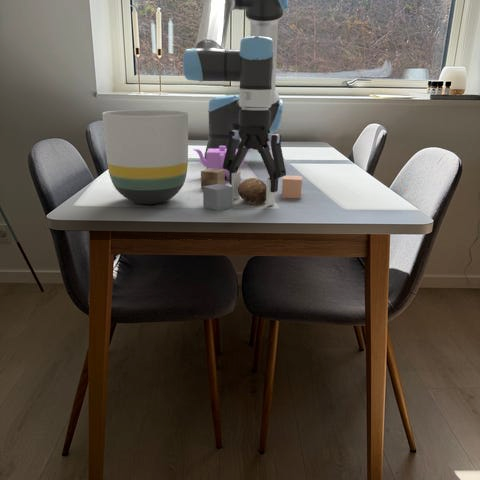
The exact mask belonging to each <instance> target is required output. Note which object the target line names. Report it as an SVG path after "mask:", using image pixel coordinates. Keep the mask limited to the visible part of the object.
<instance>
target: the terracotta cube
mask: <svg viewBox="0 0 480 480" xmlns="http://www.w3.org/2000/svg"><path fill="white" fill-rule="evenodd" d="M302 185H303V176H302V175H287V174H286V175H285V176H283V177H282V182H281V198H282V199H302Z"/></svg>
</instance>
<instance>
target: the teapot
mask: <svg viewBox="0 0 480 480" xmlns="http://www.w3.org/2000/svg"><path fill="white" fill-rule="evenodd" d="M192 150H193V151H195V152H196V153H197V155H198V157H199V159H200V163H201V165H202V166H203V167H204V168H205V169H208V168H212V169H223V163H224V159H225V155H226V150H227V149H226V146H219V149H208V150H207V152H206V151H205V152H206V159H205V158H204V154H203V151H202V150H200V149H197V148H196V149H194V148H193V149H192ZM252 150H253V149H249V150H248V151H247V153H246V155H245V157H244V159H243V161H242V163H241V165H240V167H242V166H243V165H244V163H245V160H246V156H247V154H249V152H252ZM237 151H238V149H236V153H237ZM236 153H235V155H236ZM240 167H239V168H240ZM224 170H225V177H226V179H225V180H227V181H230V180H229V175H230V173H229V171H228V170H226V169H224Z"/></svg>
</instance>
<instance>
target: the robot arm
mask: <svg viewBox="0 0 480 480" xmlns="http://www.w3.org/2000/svg"><path fill="white" fill-rule="evenodd" d="M201 3H202V6H203V8H202V12H201V13H202V15H201V17H200V23H199V28H198V32H197V37H196V41H195V45H194V47H192V48H187V49H185V50H184V51H183V55H182V56H183V57H182V69H183V70H182V71H183V75H184V78H185V79H187V81H193V82H236V83H237V82H238V83H239V94H232V95H224V96H222V95H221V96H217V97H212V98H210V100H209V101H208V110H207V112H208V141H207V144H206V148H205V152H204V154H203V156H204V158H205V159H206V152H207V150H208V149H219V146H226V149H227V150H226V155H225V159H224V163H223V169H226V170H228V171H229V173H230V175H229V180H228V181H229V186H230V185H231V186H230V187H233V200H235V199H239V198H241V197H240V195H239V193H238V186H239V185H240V183H241V171H240V165H241V163H242V161H243V159H244V157H245V155H246V153H247V151H248V150H256V151H257V153H259V154H260V157H261V159H262V162H263V164H264V166H265V169H266V172H267V174H268V176H269V177H268V178H267V179H266V186H267V188H266V201H265V206H266V207H269V206H272V205H275V203H276V202H275V201H276V199H275V198H276V193H277V192H278V190H279V179H280V178H283V176H285V175H287V170H286V166H285V161H284V155H283V150H282V145H281V143H282V135H281V134H280V133H277V134H276V132H277V131H278V130H279V128H280V126H281V121H282V115H283V108H284V101H283V99H281V98H280V94H279V93H278V92H277V91H276V81H277V79H276V77H277V53H278V51H277V50H278V28H279V27H278V25H279V21H280V20H281V19H282V18H283V16H284V11H287V10H289V0H201ZM234 10H237V11H238V10H239V11H245V18H246V19H247V20H248V21H249V22H250V31H249V32H250V35H249V36H244V37H242V38H241V40H240V45H239V46H240V47H239V48H238V49H236V48H235V49H234V48H231V49H229V48H226V42H227V35H228V28H229V23H230V16H231V15H230V14H231V13H232V12H233V11H234ZM268 141H269V142H268ZM269 143H270V146H269ZM236 149H238V151H237V153H236ZM235 153H236V155H235ZM271 153H272V154H271ZM247 154H248V153H247ZM246 156H247V155H246ZM245 158H246V157H245Z"/></svg>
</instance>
